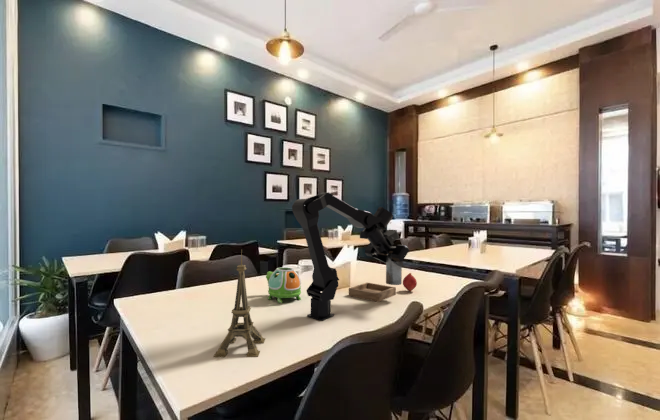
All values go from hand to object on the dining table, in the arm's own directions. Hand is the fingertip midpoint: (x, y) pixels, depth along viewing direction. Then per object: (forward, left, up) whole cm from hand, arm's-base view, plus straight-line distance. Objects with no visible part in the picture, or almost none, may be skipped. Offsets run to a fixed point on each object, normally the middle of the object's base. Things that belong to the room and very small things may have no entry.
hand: (396, 264), depth 128 cm
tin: (-1, 0, -7) cm, 7 cm away
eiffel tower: (-66, +9, -14) cm, 68 cm away
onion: (+15, +1, -14) cm, 20 cm away
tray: (-1, +10, -13) cm, 17 cm away
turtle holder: (-28, +35, -14) cm, 47 cm away
